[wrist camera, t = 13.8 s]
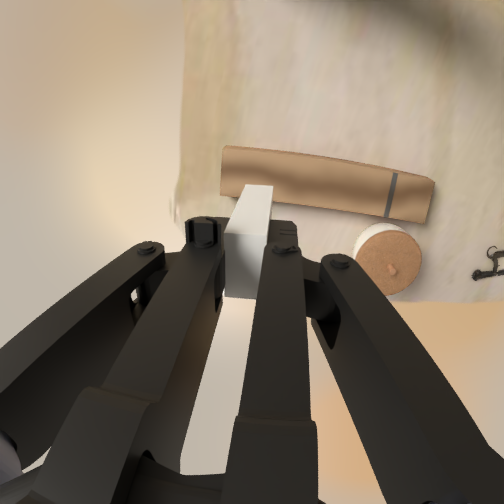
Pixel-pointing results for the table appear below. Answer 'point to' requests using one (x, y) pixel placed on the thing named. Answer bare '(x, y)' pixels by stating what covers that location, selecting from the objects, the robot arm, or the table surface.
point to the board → (327, 182)
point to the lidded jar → (388, 256)
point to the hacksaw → (479, 274)
